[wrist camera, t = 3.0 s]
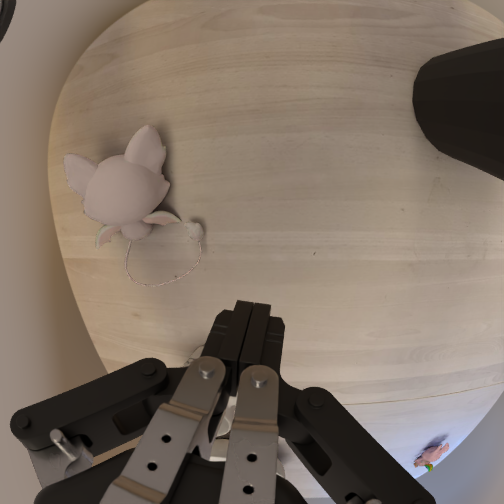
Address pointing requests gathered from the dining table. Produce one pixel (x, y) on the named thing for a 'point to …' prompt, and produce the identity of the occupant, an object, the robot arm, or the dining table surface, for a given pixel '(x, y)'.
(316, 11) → the dining table surface
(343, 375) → the dining table surface
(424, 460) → the pink soft figure
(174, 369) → the robot arm
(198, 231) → the toy
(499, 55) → the vase
